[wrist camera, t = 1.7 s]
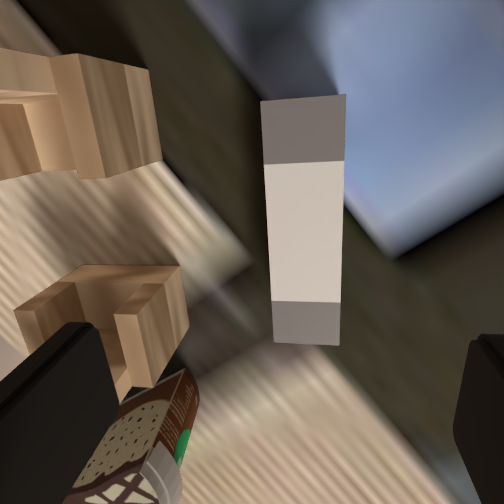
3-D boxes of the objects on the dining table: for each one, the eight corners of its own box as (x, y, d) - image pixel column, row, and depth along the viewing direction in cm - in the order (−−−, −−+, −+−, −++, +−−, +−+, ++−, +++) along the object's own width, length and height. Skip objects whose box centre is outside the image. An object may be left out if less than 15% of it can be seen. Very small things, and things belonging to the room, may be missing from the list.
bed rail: (339, 97, 20) (346, 94, 16) (335, 303, 26) (339, 345, 21) (272, 102, 21) (260, 101, 17) (281, 302, 26) (274, 342, 22)
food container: (148, 449, 36) (90, 566, 27) (107, 409, 34) (32, 517, 25) (240, 409, 31) (209, 532, 22) (198, 360, 30) (145, 470, 21)
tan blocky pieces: (148, 69, 22) (2, 35, 12) (189, 326, 29) (120, 442, 19) (31, 82, 23) (-185, 61, 13) (97, 322, 30) (-11, 427, 20)
